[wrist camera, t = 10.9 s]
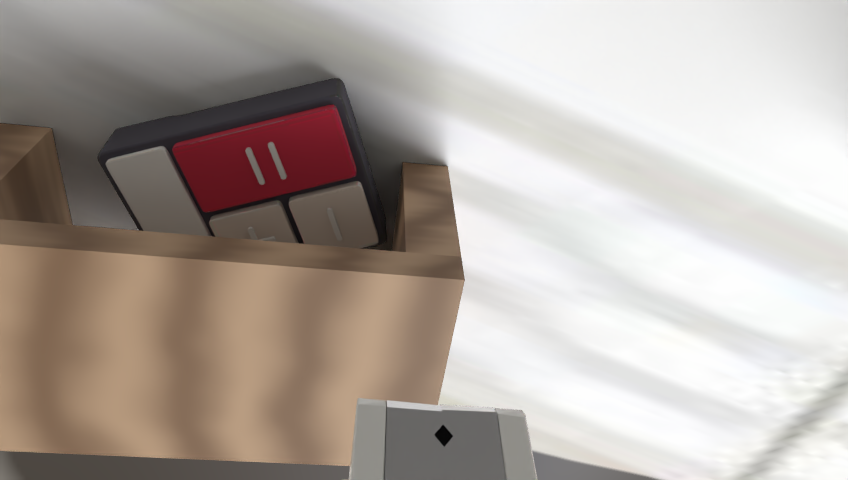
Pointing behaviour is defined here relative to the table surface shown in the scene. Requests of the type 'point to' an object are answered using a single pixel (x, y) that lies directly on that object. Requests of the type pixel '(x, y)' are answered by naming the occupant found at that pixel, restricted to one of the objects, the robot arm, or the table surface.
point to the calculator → (252, 171)
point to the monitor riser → (211, 326)
